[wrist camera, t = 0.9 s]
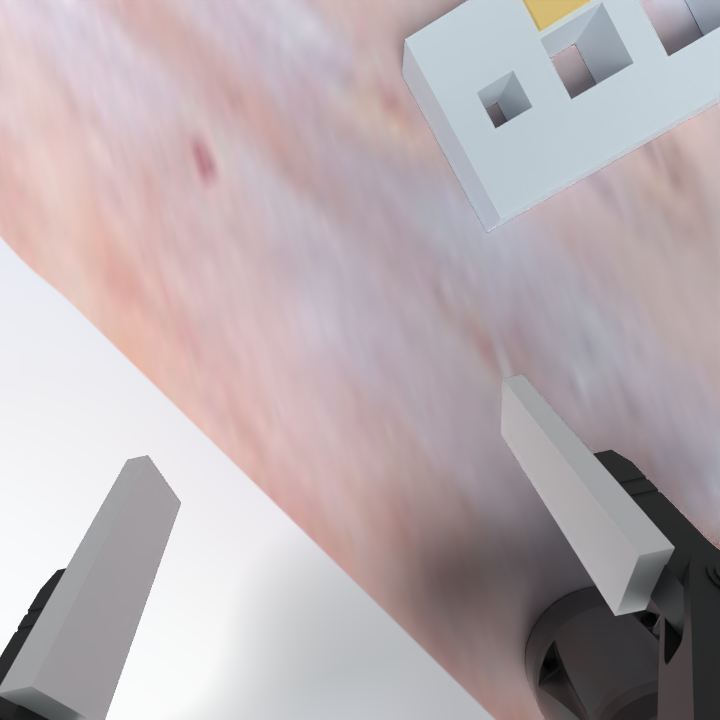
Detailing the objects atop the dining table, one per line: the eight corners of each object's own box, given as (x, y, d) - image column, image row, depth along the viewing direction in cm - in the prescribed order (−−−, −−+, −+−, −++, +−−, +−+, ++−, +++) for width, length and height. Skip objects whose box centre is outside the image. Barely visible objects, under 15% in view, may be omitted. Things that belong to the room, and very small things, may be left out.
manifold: (761, 78, 32) (820, 37, 27) (486, 233, 34) (502, 217, 29) (674, -92, 31) (721, -160, 27) (401, 75, 33) (404, 36, 29)
